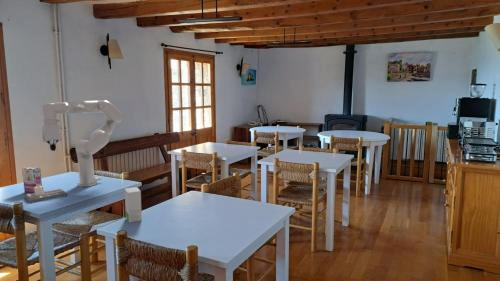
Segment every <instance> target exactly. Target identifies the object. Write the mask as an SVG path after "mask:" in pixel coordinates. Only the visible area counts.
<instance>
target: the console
mask: <svg viewBox="0 0 500 281" xmlns="http://www.w3.org/2000/svg"><path fill="white" fill-rule="evenodd" d="M67 194H68V193H67V192H66V191H64V190H63V189H61V188H55V189H52V190H51V189H50V190H46V191H45V190H44V194H41V195H35V193H26V194H25V195H24V198H25V200H27V201H28V202H29V203H30V204H33V203H37V202H43V201H48V200H53V199H58V198H62V197H67V196H68V195H67ZM32 202H33V203H32Z"/></svg>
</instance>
